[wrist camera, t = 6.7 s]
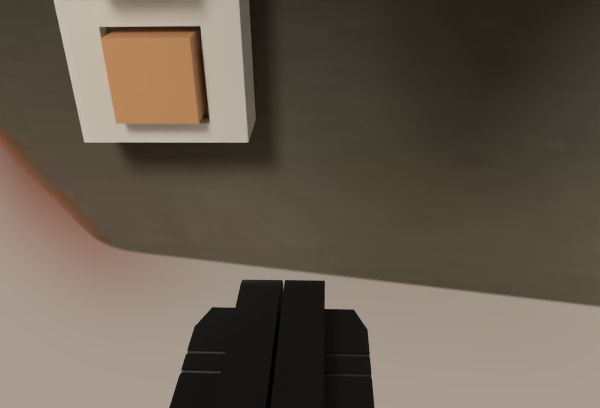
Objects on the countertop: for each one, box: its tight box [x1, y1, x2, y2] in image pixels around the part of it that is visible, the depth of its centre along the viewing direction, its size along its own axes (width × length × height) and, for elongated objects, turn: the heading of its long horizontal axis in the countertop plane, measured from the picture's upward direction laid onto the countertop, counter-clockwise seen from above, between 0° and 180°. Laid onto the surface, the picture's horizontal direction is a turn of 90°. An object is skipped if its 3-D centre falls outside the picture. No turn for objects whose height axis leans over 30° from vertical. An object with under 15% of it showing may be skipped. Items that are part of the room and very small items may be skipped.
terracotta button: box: [101, 26, 208, 124], centre depth 32 cm, size 5×5×3 cm
